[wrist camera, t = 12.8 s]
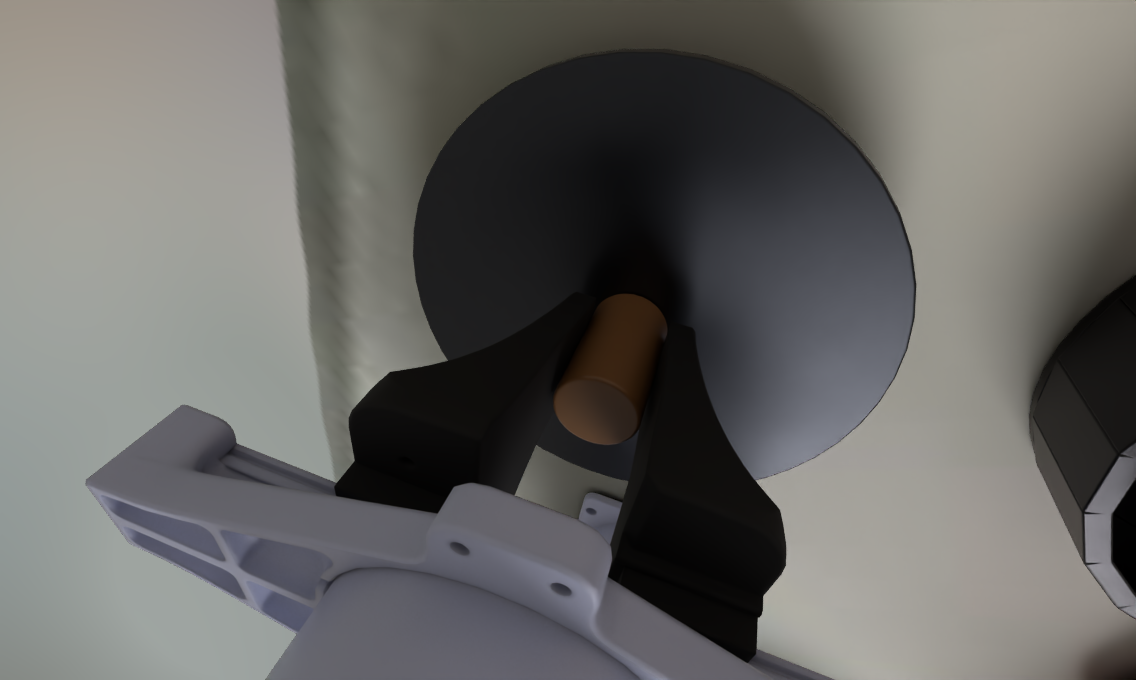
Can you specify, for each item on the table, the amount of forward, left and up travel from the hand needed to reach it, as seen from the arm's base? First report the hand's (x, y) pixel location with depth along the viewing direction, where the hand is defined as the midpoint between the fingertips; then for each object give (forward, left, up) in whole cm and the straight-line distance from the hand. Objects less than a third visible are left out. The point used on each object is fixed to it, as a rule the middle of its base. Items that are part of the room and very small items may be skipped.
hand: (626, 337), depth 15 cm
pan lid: (0, 0, -1) cm, 1 cm away
